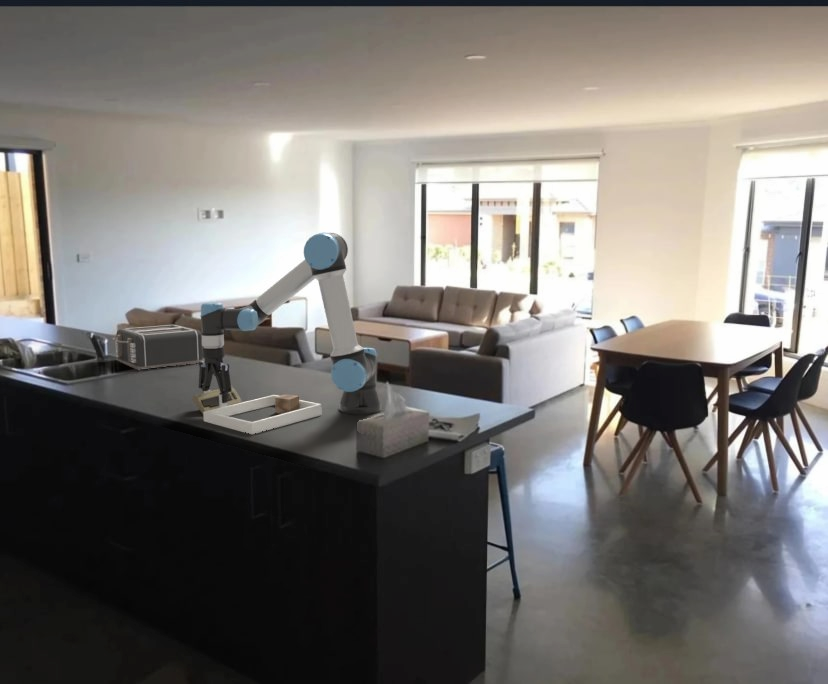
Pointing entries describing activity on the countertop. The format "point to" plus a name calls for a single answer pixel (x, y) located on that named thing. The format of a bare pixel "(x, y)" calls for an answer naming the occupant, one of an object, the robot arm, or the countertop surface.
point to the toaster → (158, 346)
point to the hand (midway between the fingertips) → (215, 410)
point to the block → (286, 403)
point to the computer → (215, 399)
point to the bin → (223, 419)
